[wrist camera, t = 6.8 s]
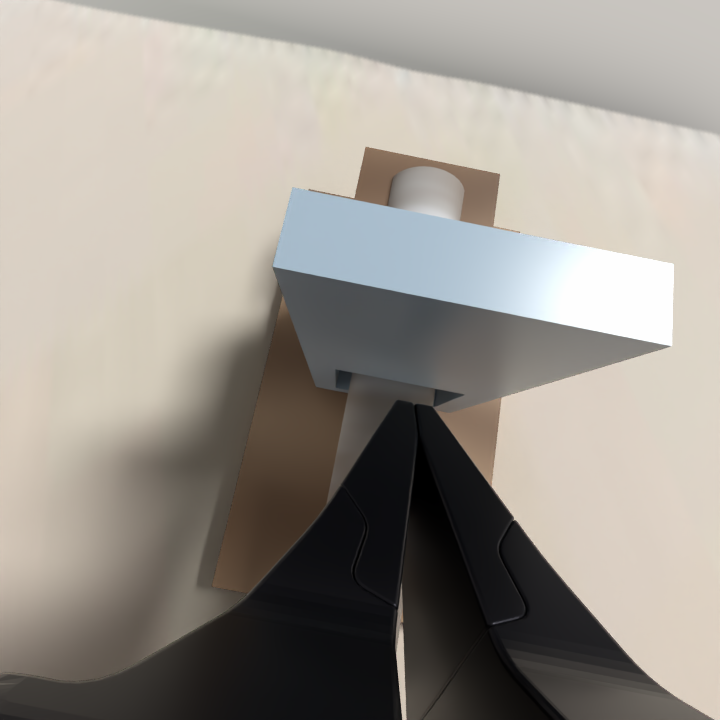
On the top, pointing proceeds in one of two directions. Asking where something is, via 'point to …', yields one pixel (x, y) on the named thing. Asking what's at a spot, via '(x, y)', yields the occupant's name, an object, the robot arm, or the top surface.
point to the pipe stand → (341, 394)
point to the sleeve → (458, 301)
